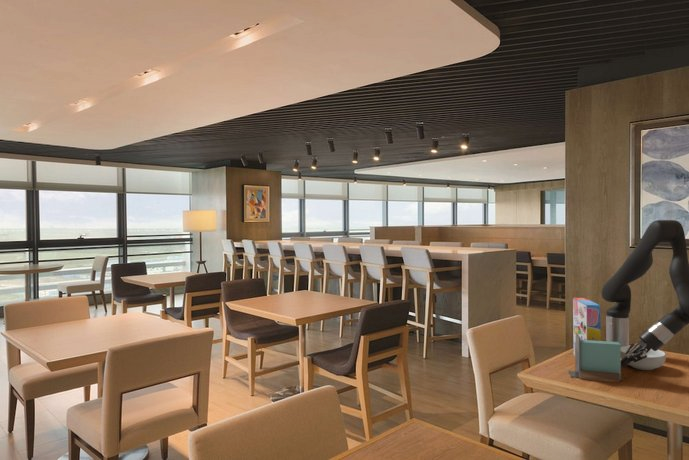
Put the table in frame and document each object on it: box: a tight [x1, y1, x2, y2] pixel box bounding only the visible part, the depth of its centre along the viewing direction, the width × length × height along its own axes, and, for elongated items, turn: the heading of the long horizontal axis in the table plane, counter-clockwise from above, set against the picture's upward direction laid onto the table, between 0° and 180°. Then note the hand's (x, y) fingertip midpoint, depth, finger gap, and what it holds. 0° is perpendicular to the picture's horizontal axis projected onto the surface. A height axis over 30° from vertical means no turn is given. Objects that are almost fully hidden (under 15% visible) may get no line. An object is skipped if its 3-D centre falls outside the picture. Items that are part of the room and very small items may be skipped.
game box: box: [572, 297, 602, 357], centre depth 204 cm, size 21×6×27 cm, turn 168°
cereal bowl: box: [621, 345, 667, 371], centre depth 196 cm, size 17×17×7 cm
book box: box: [581, 340, 622, 381], centre depth 184 cm, size 4×14×14 cm, turn 72°
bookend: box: [567, 334, 581, 379], centre depth 187 cm, size 7×4×16 cm, turn 163°
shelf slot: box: [574, 343, 621, 383], centre depth 185 cm, size 10×14×12 cm
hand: (621, 365), depth 182 cm, fingers closed
